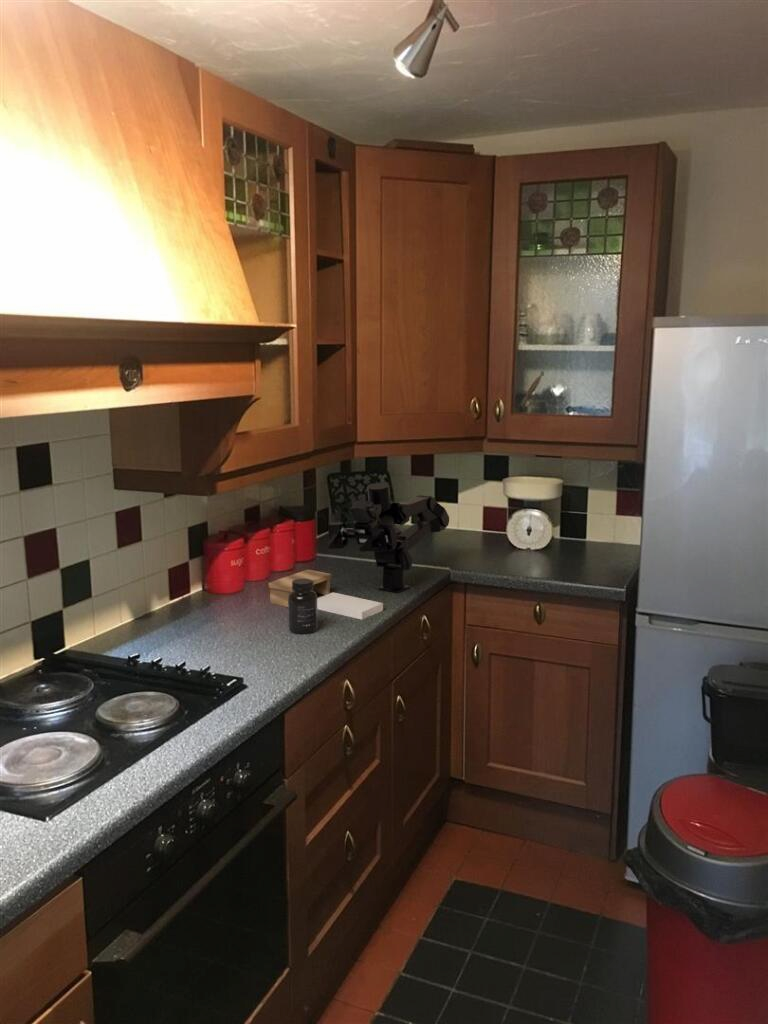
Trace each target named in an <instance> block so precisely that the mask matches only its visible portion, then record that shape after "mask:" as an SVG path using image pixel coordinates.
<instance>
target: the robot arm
mask: <svg viewBox="0 0 768 1024" xmlns="http://www.w3.org/2000/svg"><path fill="white" fill-rule="evenodd" d="M390 491H391V489H390V482H386V481H381V482H377V483H376V482H375V483H370V484H368V485H367V497H368V500H356V501H355V502H354V504H353V505H352V506H351V508H350V509H349V511H350V513H351V515H352V518H353V519H354V521H352V527H353V528H348V527H347V524H346V523H344V522H337V521H335V522H333V521H332V522H330V523H329V524H328V525H327V533H328V536H329V537H328V538H329V543H328V545H327V547H328V550H337V549H339V550H341V549H344V548H345V547H347V546H348V543H349V539H355V541H356V542H357V545H359V552H374V558H375V564H376V567H378V568H379V567H380V568H382V585H380V586H378V587H377V589H378V590H380V591H381V590H382V591H387V592H391V593H400V592H402V591H405V590H407V589H410V585H409V584H406V570H407V571H408V570H411V568H412V566H413V558H412V556H411V555H410V553H409V551H410V550H412V548H413V547H415V546H416V545H418V543H420V542H421V541H422V540H424V539H425V538H426V537H428V536H429V535H430V534H432V533H434V534H435V533H441V532H443V531H445V530H446V528H447V527H448V526H449V524H450V516H449V513H448V512H447V510H446V508H445V507H444V506H443V505H441V504H440V503H439V502H437V500H436V498H435V497H433V496H432V495H431V496H430V495H424V494H423V495H421V494H419V495H416V496H415V497H413V498H410V499H407V500H403V501H401V502H396V501H392V500H391V492H390ZM413 516H415V517H416V519H417V521H416V522H415V523H413V524H412V525H411V526H409V527H408V528H407V529H405V530H403V532H401V533H400V534H398V535H397V534H396V530H395V527H394V526H395V525H398V526H404V525H405V524H407V523H408V522H410V518H411V517H413Z"/></svg>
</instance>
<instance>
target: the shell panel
mask: <svg viewBox="0 0 768 1024" xmlns="http://www.w3.org/2000/svg"><path fill="white" fill-rule="evenodd" d="M317 610H319V611H323V612H327V613H328V612H329V613H333V614H336V615H341V616H345V617H349V618H354V619H357V620H358V619H359V620H364V619H366V618H370V617H371V616H373V615H376V614H378V613H381V612H382V611H384V603H383V602H379V601H375V600H369V599H364V598H361V597H357V596H352V595H347V594H343V593H342V594H341V593H339V592H338V593H337V592H334V591H333V592H330V594H327V595H323V596H319V597H317Z"/></svg>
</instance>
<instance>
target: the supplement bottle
mask: <svg viewBox="0 0 768 1024" xmlns="http://www.w3.org/2000/svg"><path fill="white" fill-rule="evenodd" d="M312 589H313V581H312V580H310V579H305V578H301V579H295V580H293V581H292V590H293V591H292V592H290V594H289V595H288V607H287V609H288V611H287V615H288V616H287V617H288V630H289V632H291V633H292V634H294V635H295V634H296V635H310V634H313V633H315V632H317V630H318V625H319V621H318V619H319V618H318V617H319V616H318V609H317V598H318V593H315V592H314V591H313V590H312Z"/></svg>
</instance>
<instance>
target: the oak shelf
mask: <svg viewBox="0 0 768 1024" xmlns="http://www.w3.org/2000/svg"><path fill="white" fill-rule="evenodd" d="M301 578H305V579H310V580H312V581H313V589H312V590H313V591H314V592H315V593H316V594H317V595H318V594H319V595H323V596H325V595H327V594H330V593H331V579H332V573H328V572H327V573H326V572H323V571H318V570H317V571H316V570H312V569H305V570H302V571H299V572H296V573H292V574H290V575H287V576H283V577H281V578H279V579H276V580H273V581H270V582H268V588H269V596H270V598H269V600H270V601H269V603H270V604H272V605H276V606H281V607H285V608H288V595H289V594H290V592H292V591H293V590H292V581H293V580H295V579H301Z"/></svg>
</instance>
